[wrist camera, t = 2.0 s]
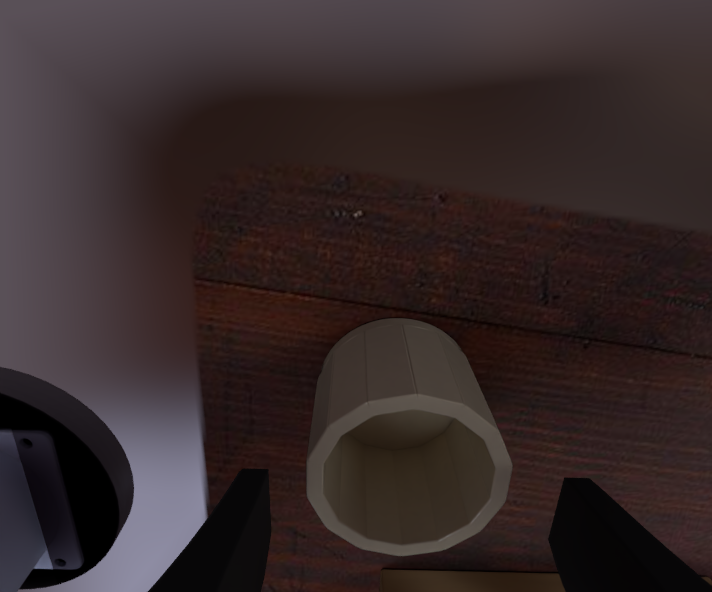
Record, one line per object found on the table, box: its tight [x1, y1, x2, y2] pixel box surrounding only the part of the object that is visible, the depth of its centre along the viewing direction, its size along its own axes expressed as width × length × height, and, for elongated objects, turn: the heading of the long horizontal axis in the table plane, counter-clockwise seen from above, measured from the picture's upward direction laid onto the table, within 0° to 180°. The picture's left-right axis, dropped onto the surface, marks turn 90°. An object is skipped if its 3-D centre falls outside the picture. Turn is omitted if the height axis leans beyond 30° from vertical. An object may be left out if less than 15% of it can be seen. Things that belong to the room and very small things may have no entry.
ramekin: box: [306, 318, 513, 556], centre depth 14 cm, size 5×5×4 cm
